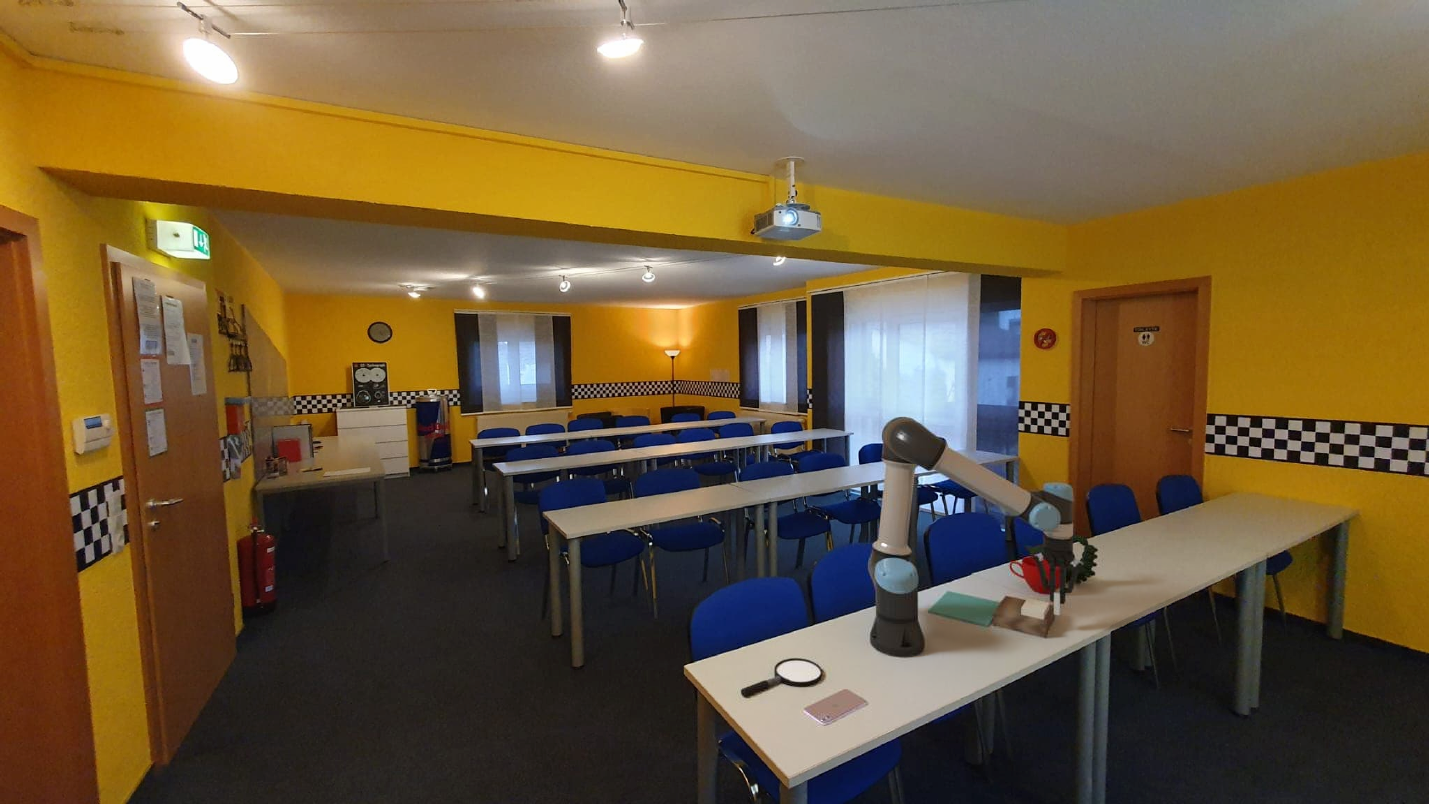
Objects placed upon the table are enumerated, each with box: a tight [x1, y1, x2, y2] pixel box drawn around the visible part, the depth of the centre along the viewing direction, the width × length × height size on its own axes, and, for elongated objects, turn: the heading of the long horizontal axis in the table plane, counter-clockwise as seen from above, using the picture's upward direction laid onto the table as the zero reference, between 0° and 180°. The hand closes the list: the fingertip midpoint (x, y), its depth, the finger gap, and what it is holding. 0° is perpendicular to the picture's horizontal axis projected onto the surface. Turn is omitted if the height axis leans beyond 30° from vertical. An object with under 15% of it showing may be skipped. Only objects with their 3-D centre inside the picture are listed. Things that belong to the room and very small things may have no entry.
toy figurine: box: [1024, 535, 1099, 585], centre depth 210 cm, size 9×19×25 cm
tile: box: [1021, 598, 1050, 620], centre depth 174 cm, size 6×9×2 cm, turn 141°
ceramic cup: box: [1009, 556, 1060, 595], centre depth 200 cm, size 13×17×10 cm
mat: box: [927, 590, 1001, 628], centre depth 187 cm, size 18×20×1 cm
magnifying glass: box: [740, 657, 823, 699], centre depth 148 cm, size 12×24×2 cm, turn 122°
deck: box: [992, 595, 1056, 639], centre depth 176 cm, size 14×16×4 cm
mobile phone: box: [803, 688, 868, 726], centre depth 136 cm, size 8×1×15 cm
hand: (1057, 613), depth 170 cm, fingers closed
